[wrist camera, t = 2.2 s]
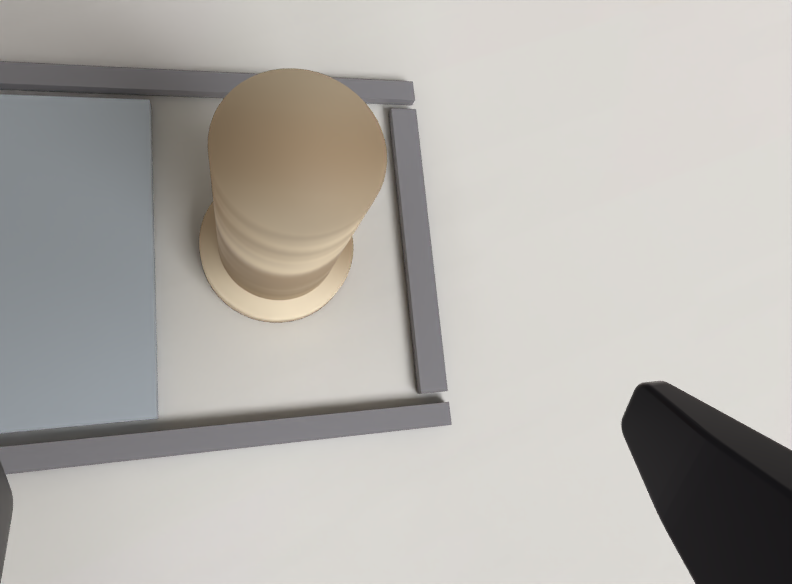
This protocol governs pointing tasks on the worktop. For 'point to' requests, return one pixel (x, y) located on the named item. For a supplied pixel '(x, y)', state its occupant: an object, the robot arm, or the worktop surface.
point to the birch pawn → (287, 192)
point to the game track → (141, 269)
